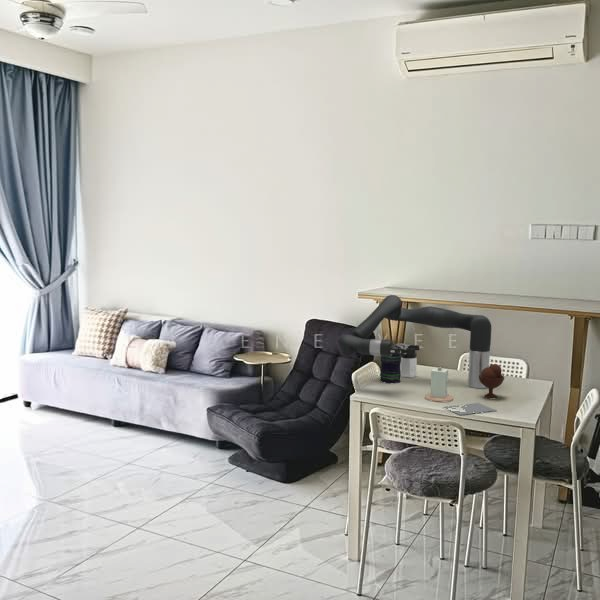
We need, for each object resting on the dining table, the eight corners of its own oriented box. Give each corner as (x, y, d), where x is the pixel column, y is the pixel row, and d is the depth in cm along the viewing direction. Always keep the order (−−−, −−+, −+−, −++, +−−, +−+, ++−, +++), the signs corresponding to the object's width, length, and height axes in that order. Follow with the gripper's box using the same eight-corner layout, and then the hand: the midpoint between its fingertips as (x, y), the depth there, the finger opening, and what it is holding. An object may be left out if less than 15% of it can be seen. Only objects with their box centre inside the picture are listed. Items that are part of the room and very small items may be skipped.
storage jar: (382, 377, 332) (383, 347, 330) (402, 379, 329) (403, 349, 327) (377, 382, 323) (378, 351, 321) (397, 384, 319) (398, 353, 318)
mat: (478, 403, 288) (478, 402, 288) (496, 411, 277) (496, 410, 277) (442, 407, 281) (442, 406, 281) (460, 415, 270) (460, 414, 270)
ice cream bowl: (496, 393, 305) (497, 360, 303) (507, 400, 294) (509, 366, 292) (473, 394, 303) (475, 361, 301) (484, 400, 292) (486, 366, 290)
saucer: (442, 393, 303) (442, 391, 303) (458, 400, 292) (458, 398, 292) (419, 396, 299) (419, 394, 298) (435, 403, 288) (435, 400, 287)
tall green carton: (433, 393, 299) (434, 365, 298) (447, 395, 297) (448, 366, 295) (430, 397, 294) (431, 368, 292) (444, 398, 291) (445, 369, 290)
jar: (406, 378, 332) (407, 354, 330) (395, 375, 339) (396, 351, 337) (419, 376, 337) (420, 352, 335) (408, 372, 343) (409, 349, 342)
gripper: (377, 342, 296) (413, 344, 290) (385, 336, 309) (420, 338, 303) (377, 358, 297) (413, 361, 291) (385, 352, 310) (420, 355, 304)
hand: (417, 349), depth 297 cm, fingers open, 8 cm apart
